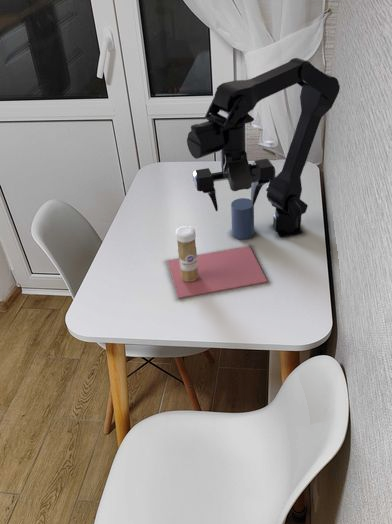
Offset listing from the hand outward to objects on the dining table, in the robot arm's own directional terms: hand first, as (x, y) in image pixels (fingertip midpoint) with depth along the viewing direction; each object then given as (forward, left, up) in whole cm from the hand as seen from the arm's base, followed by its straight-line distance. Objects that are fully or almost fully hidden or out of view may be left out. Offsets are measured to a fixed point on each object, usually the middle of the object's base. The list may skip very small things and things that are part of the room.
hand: (234, 207), depth 131 cm
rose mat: (+7, +7, -13) cm, 16 cm away
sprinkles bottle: (+14, +8, -13) cm, 20 cm away
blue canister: (-4, -8, -13) cm, 16 cm away
